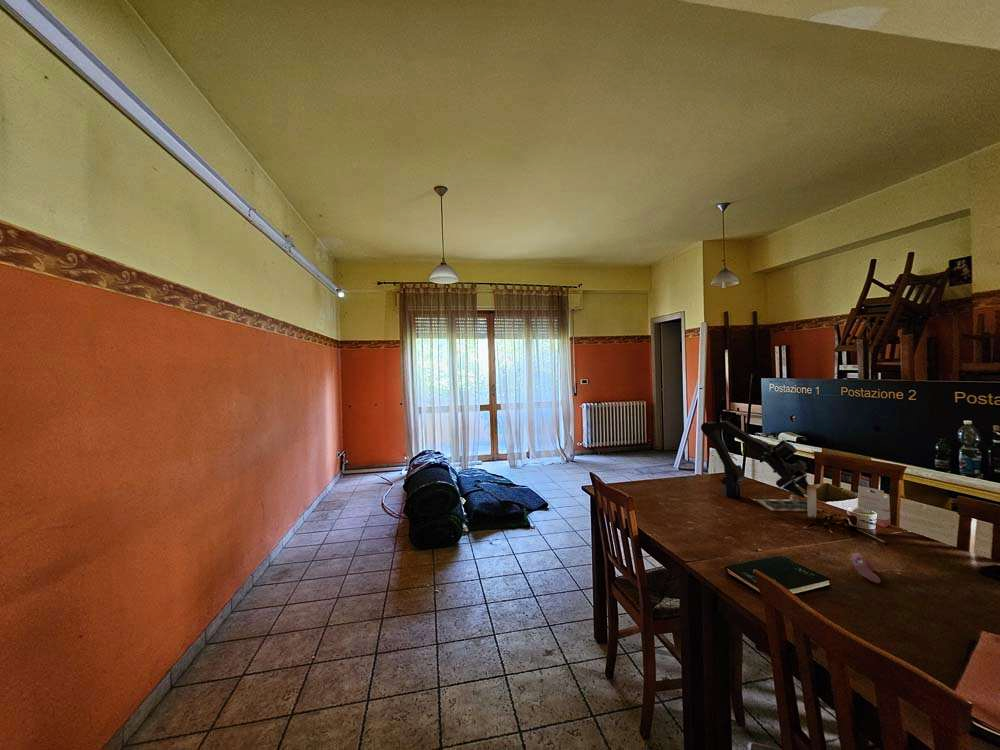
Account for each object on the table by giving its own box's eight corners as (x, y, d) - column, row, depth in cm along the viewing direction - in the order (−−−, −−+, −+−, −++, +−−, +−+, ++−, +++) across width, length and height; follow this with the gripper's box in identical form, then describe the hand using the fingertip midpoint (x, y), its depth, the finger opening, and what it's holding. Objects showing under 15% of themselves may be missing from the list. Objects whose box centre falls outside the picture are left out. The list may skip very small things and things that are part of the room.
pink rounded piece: (859, 571, 120) (846, 550, 122) (877, 569, 118) (863, 547, 120) (863, 586, 113) (849, 562, 115) (882, 584, 110) (867, 559, 112)
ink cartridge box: (891, 525, 150) (890, 489, 150) (885, 527, 148) (884, 491, 148) (863, 517, 158) (862, 483, 158) (857, 520, 156) (856, 485, 156)
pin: (810, 517, 160) (810, 487, 160) (805, 514, 163) (805, 485, 163) (818, 517, 160) (817, 487, 160) (813, 514, 163) (812, 485, 163)
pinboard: (772, 510, 168) (772, 502, 168) (756, 501, 180) (756, 494, 180) (816, 511, 167) (816, 503, 167) (797, 501, 178) (797, 494, 178)
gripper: (783, 457, 162) (816, 489, 152) (800, 451, 172) (832, 481, 162) (763, 472, 168) (793, 503, 159) (781, 465, 178) (810, 494, 169)
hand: (808, 495), depth 162 cm, fingers open, 9 cm apart
